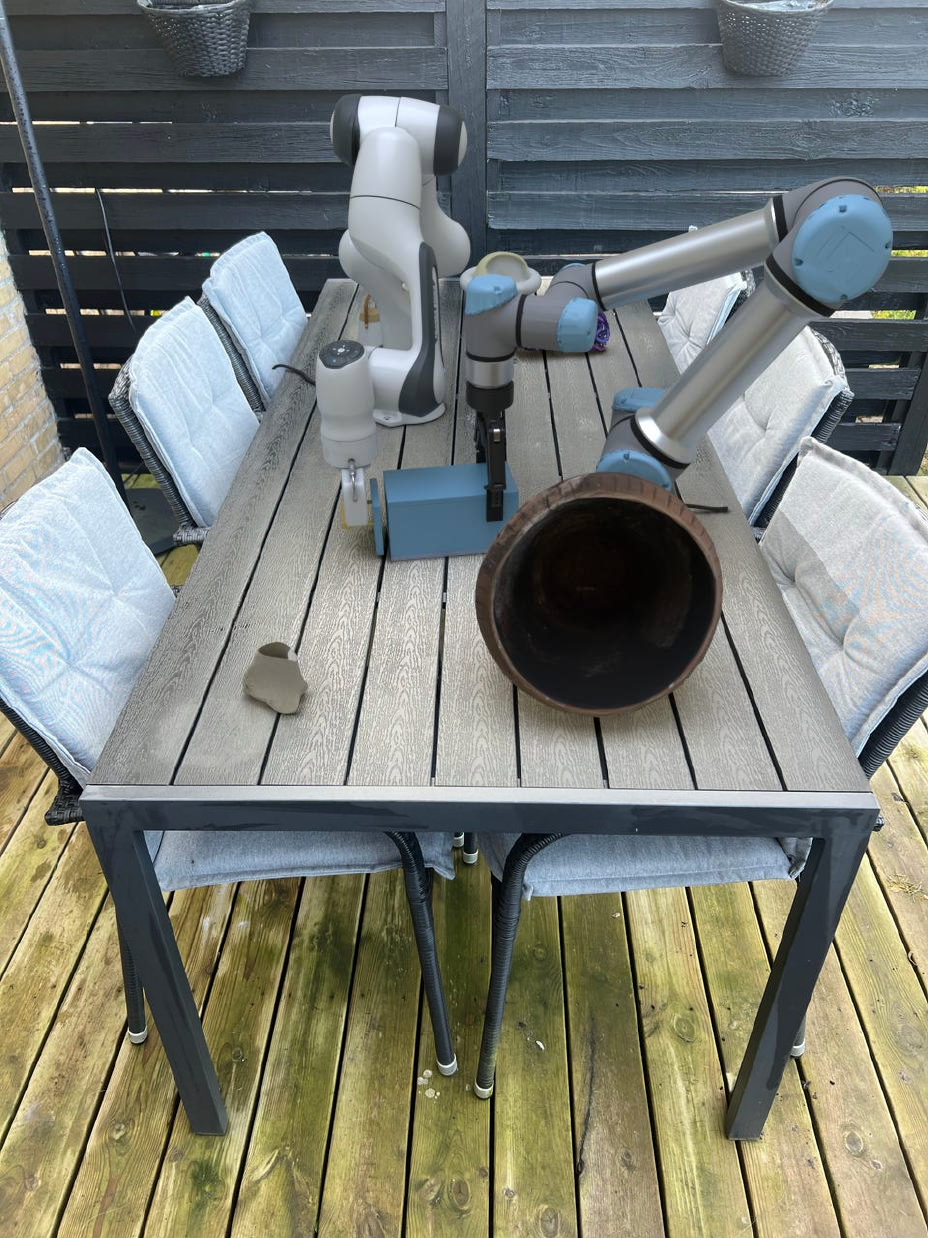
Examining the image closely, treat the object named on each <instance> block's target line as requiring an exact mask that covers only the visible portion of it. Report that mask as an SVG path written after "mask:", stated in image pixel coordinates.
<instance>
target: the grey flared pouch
mask: <svg viewBox="0 0 928 1238" xmlns="http://www.w3.org/2000/svg"><path fill="white" fill-rule="evenodd" d="M297 655H298V654H296V652H295V651H294V649H292V647H291V646H290V645H288V644H286V643H285V642H281V641H274V642H269V643H266V644H264V645H262V646H260V647H259V648H258V649H257V651H256V653H255V654H254V656H253V659H252V660H251V663H250V664H249V665H248V667H247V669H246V670H245V672H244V674H243V677H242V681H241V685H242V693H243V694H244V695H248V696H251V697H253V698H254V699H256V700H258V701H262V702H264V703H266V704H267V705H268V706H269V707H270V708H272V709H273V710H274V711H275V712H277V713H280V714H283V715H286V714H295V713H296V712H297V711H298V708H299V705H300V699H301V697H302V696H303V694H304V693H305V692H306V691H308V689H309V682H308V681H307V680H305V679H304V677H303V675H302V673H301V672H302V671H301V668H300V665H299V659H298V656H297Z"/></svg>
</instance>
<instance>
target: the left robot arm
mask: <svg viewBox="0 0 928 1238" xmlns="http://www.w3.org/2000/svg"><path fill="white" fill-rule="evenodd" d="M330 118H331V119H330V123H329V136H330V141H331V144H332V145H331V146H332V151H333V153H334V154H335V156H336V157H337V158H338V159H339V160H340V162H341V163H343V164H345V165H347V166H348V167H349V168H350V169H352V170H353V174H352V181H351V187H350V194H349V203H348V204H349V206H348V214H347V225H348V226H347V229H346V230H345V231H344V233H342V236H341V239H340V241H339V245H338V259H339V260H338V261H339V263H340V266H341V268H342V270H343V272H344V274H345V275H346V276H347V277H348V278H349V279H351V280H352V281H353V282H355V283H357V285H359V286H361V288H362V289H364V291H366V293H367V294H369V295H370V296H371V297H370V299H372V300H373V303H374V306H375V305H376V307H377V310H378V313H379V317H380V323H381V330H382V341H383V344H382V345H380V346H378V347H374V346H365V345H362V344H360V343H359V342H358V341H356V340H351V339H339V340H334V341H332V342H330V343H327V344H325V345H323V347H321V349H320V350H319V351H318V352H317V355H316V363H315V380H314V379H311V378H310V377H309V376H308V375H307V374H306V373H305V372H304V371H302V370H300V369H298V368H295V367H293V366H290V365H288V364H283V363H278V364H275V365H272V368H271V370H272V371H274V370H276V369H278V368H284V369H288V370H289V371H293V372H295V373H298V374H300V375H301V376H302V377H303V378H304V379H305V381H307V382H308V383H310V384H313V385H315V392H316V394H315V395H316V403H317V404H316V405H317V409H318V411H319V413H320V417H321V418H320V419H321V422H320V427H319V428H320V429H319V431H320V441H321V448H322V449H321V450H322V458H323V460H324V462H325V463H326V464H328V465H329V466H331V468H332V469H333V470H334V471H335V472H337V473H339V474H340V480H341V492H342V500H343V503H344V514H345V522H346V525H347V526H355V527H363V526H362V525H367V524H368V521H369V509H368V507H369V506H368V505H367V500H368V497H367V495H368V494H367V486H366V485H367V484H366V477H365V476H366V475H365V472H366V471H367V470H369V469H370V468H371V467H372V463H374V462H375V461H376V460H377V458H378V457H379V443H378V430H377V423H378V424H381V425H384V426H386V427H389V428H393V427H398V426H403V425H415V424H423V423H428V422H431V421H433V420H436V419H438V418H440V417H441V416H442V415H443V414H444V413H445V411H446V406H445V403H444V399H445V395H446V388H447V382H446V381H447V380H446V369H445V363H444V362H445V361H444V356H443V343H442V342H443V341H442V316H441V315H442V314H441V297H440V295H441V294H440V281H439V280H442V279H446V278H449V277H453V276H457V275H460V274H462V273H463V272H464V270H465V269H466V267H467V265H468V263H469V260H470V257H471V242H470V238H469V235H468V233H467V231H466V230H465V228H464V227H463V226H462V225H461V224H460V222H457V221H455V220H453V219H452V218H450V217H449V216H448V215H447V214H446V213H445V212H444V211H443V210H442V208H441V207H440V204H439V201H438V196H437V178H439V177H449V176H452V175H453V174H454V173H456V172H457V171H458V170H459V168H460V165H461V163H462V162H463V160H464V157H465V155H466V151H467V147H468V132H467V127H466V124H465V118H464V116H463V114H461V112H460V111H459V109H457V108H455V107H454V106H451V105H448V104H445V103H441V104H437V103H432V102H430V101H426V100H422V99H418V98H412V97H406V96H401V97H397V96H388V95H387V96H385V95H363V94H362V93H351V94H346V95H343V96H342V97H340V98H339V100H338V101H337V102H336V103H335V106H334V110H333V112H332V115H331V117H330ZM403 285H404V286H405V288H406V289H407V290H406V289H405V288H404V287H403Z"/></svg>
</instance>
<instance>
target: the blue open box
mask: <svg viewBox="0 0 928 1238" xmlns="http://www.w3.org/2000/svg"><path fill="white" fill-rule="evenodd" d="M505 471H506V485H507V488H506V490H504V493H503V521H495V522H487V521H486V489H485V490H484V487H483V486H485V485H487V484H488V479H487V466H486V463H477V464H476V463H465V464H452V465H440V466H439V465H438V466H426V467H413V468H399V469H387V470H382V477H383V491H384V508H385V519H386V520H385V521H386V529H387V530H386V531H387V538H388V546H389V553H390V559H391V561H390V562H398V561H399V562H400V561H408V560H410V561H411V560H421V559H432V558H433V559H434V558H445V557H456V556H465V555H466V556H467V555H478V554H479V555H480V554H486V553H487V551H488V549H489V547H490V545H491V543H492V541H493V540H494V538H495V536H496V535H497V534H498V533H499V532H500V530H501V529H502V527H503V526H504V525H505V524H506V523H507V522H508V521H509V520H510V519H511V517H512V516H513V515H514V514H515V513H516V512H517V511H518V510H519V504H520V503H519V502H520V501H519V499H520V496H519V495H520V492H519V488H518V486H517V484H516V480H515V478H514V475H513V472H512V470H511V467H510V464H509V462H508V461H507V460H505Z"/></svg>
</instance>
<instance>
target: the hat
mask: <svg viewBox="0 0 928 1238" xmlns="http://www.w3.org/2000/svg"><path fill="white" fill-rule="evenodd" d="M539 273H540V272H538V271H537V270H535V269H533V268H532V267H529V266H528V264H527V262H526V260H525V259H524V258H523V257H522V256H520V255H519V254H517V253H514V252H509V251H496V252H495V251H494V252H491V253H488V254H486V256H484V257H483V258H482V259H481V260H480V261H478V264H477V265H476V266H472V267H470V268H468V269H466V270H465V271H463V272H462V273H461V275H460V277H459V287H461V289H462V290H463V292H465V293H466V288H467V284H468V283H469V282H470V281H471V280H472V279H473V278H475V277H477V276H481V275H486V274H500V275H503V276H509V277H511V278H512V279H514V280H515V282H516V288H517V290H518V293H519V294H527V295H534V294H535V293H536V292H538V291H539V290H540V288H541V286H542V282H543V280H542V276H541V274H539Z"/></svg>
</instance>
